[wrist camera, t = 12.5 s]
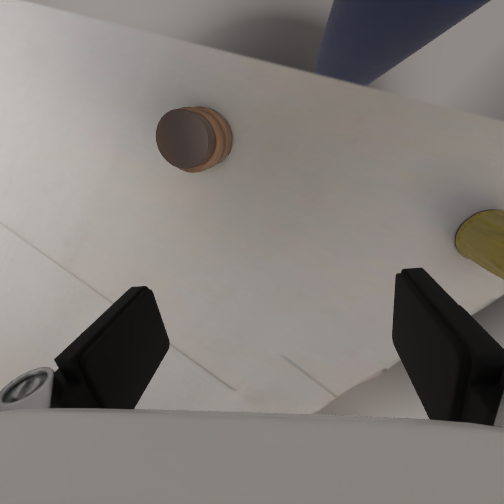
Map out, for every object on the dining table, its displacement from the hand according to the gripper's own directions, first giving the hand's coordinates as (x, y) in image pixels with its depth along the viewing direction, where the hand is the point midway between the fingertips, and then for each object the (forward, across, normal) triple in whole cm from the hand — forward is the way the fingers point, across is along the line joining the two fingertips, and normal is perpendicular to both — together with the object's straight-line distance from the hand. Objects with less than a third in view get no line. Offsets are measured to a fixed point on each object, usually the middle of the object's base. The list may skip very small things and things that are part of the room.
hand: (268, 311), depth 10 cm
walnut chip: (+19, +8, -7) cm, 22 cm away
